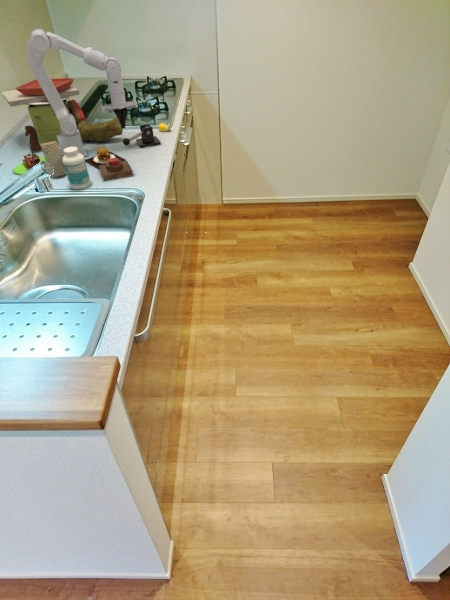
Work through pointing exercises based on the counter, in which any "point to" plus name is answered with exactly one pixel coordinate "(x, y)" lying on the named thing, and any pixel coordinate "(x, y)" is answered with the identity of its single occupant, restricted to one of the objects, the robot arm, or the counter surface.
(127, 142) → the lever
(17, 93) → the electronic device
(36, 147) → the chess piece
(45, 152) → the carving
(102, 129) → the stone tool
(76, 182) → the pill bottle
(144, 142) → the bracket
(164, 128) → the light bulb
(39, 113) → the protein box
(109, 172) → the button block
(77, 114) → the decorative object
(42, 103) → the plate
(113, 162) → the button
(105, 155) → the hamburger
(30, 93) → the plant saucer
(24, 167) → the brown lump green base
